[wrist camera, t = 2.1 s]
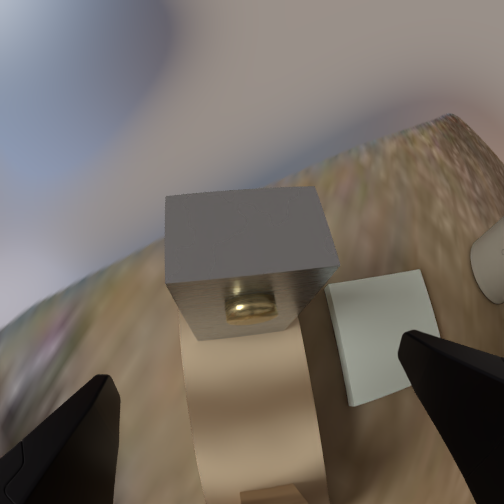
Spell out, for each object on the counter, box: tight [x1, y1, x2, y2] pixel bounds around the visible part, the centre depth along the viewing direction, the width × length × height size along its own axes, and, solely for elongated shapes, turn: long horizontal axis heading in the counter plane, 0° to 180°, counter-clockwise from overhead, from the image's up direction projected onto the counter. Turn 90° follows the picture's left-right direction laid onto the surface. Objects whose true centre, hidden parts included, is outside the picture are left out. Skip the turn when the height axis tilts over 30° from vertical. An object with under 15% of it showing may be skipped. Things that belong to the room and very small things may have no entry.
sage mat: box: [324, 269, 440, 406], centre depth 19 cm, size 9×9×1 cm
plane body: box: [178, 308, 330, 504], centre depth 13 cm, size 20×7×6 cm, turn 8°
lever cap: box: [165, 186, 340, 341], centre depth 12 cm, size 4×5×9 cm
